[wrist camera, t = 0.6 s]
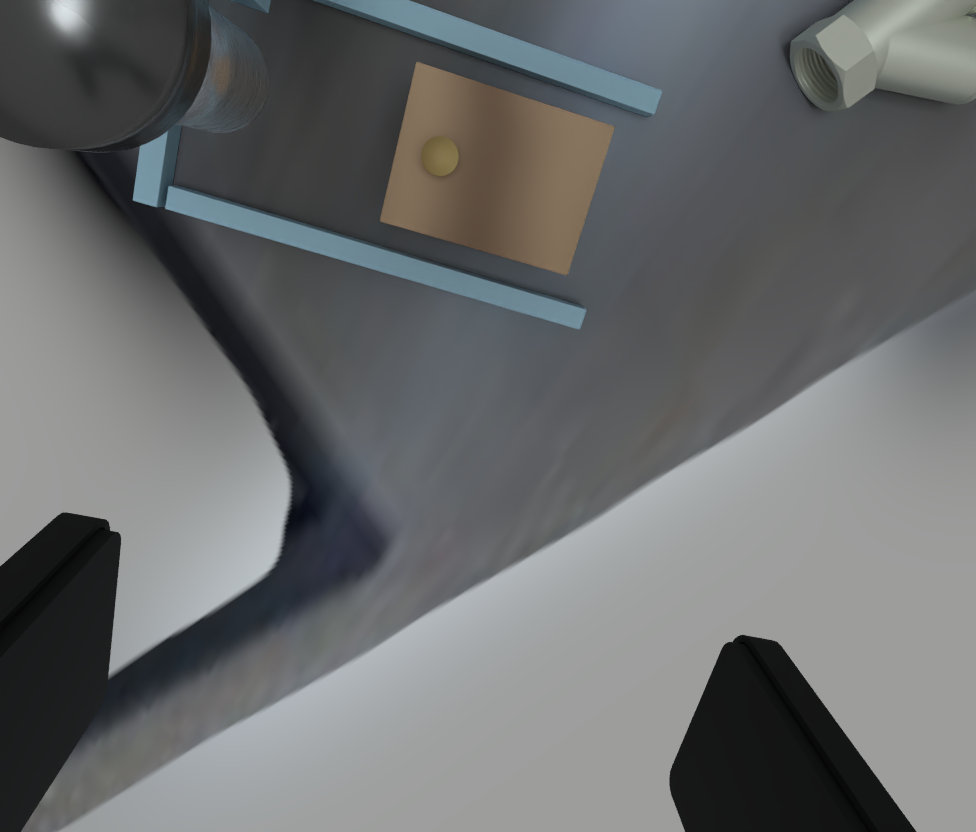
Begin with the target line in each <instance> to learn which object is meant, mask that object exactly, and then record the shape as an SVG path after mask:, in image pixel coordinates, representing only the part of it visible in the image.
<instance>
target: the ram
mask: <svg viewBox="0 0 976 832" xmlns="http://www.w3.org/2000/svg"><path fill="white" fill-rule="evenodd" d="M268 89H269V77H268V70H267V66H266V63H265V60H264V58H263V55H262V53H261V51H260V50H259V48H258V47H257V45H256V44H255V42H254V41H253V40H252V39H251V38H250V37H249V36H248V35H247V34H246V33H245V32H244V31H243V30H241V29H240V28H239V27H237V26H236V25H235V24H233V23H232V22H231V21H229V20H228V19H227V18H225V17H224V16H223V15H222V14H220V13H219V12H218V11H216V10H215V9H214V8H212V7H211V6H210V5H209V4H208V0H0V137H2V138H5V139H7V140H10V141H13V142H16V143H20V144H24V145H29V146H33V147H40V148H49V149H61V150H74V151H87V152H116V151H122V150H128V149H132V148H135V147H138V146H141V145H144V144H147V143H149V142H150V141H152V140H154V139H156V138H158V137H160V136H161V135H163V134H164V133H166V132H167V131H168V130H170V129H171V128H172V127H173V126H174V125H175V124H176V125H181V126H186V127H191V128H195V129H200V130H205V131H210V132H216V133H229V132H234V131H237V130H240V129H242V128H244V127H246V126H248V125H249V124H250V123H252V122H253V121H254V120H255V119H256V118H257V116H258V115H259V114H260V112H261V111H262V109H263V107H264V105H265V102H266V99H267V95H268Z"/></svg>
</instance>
